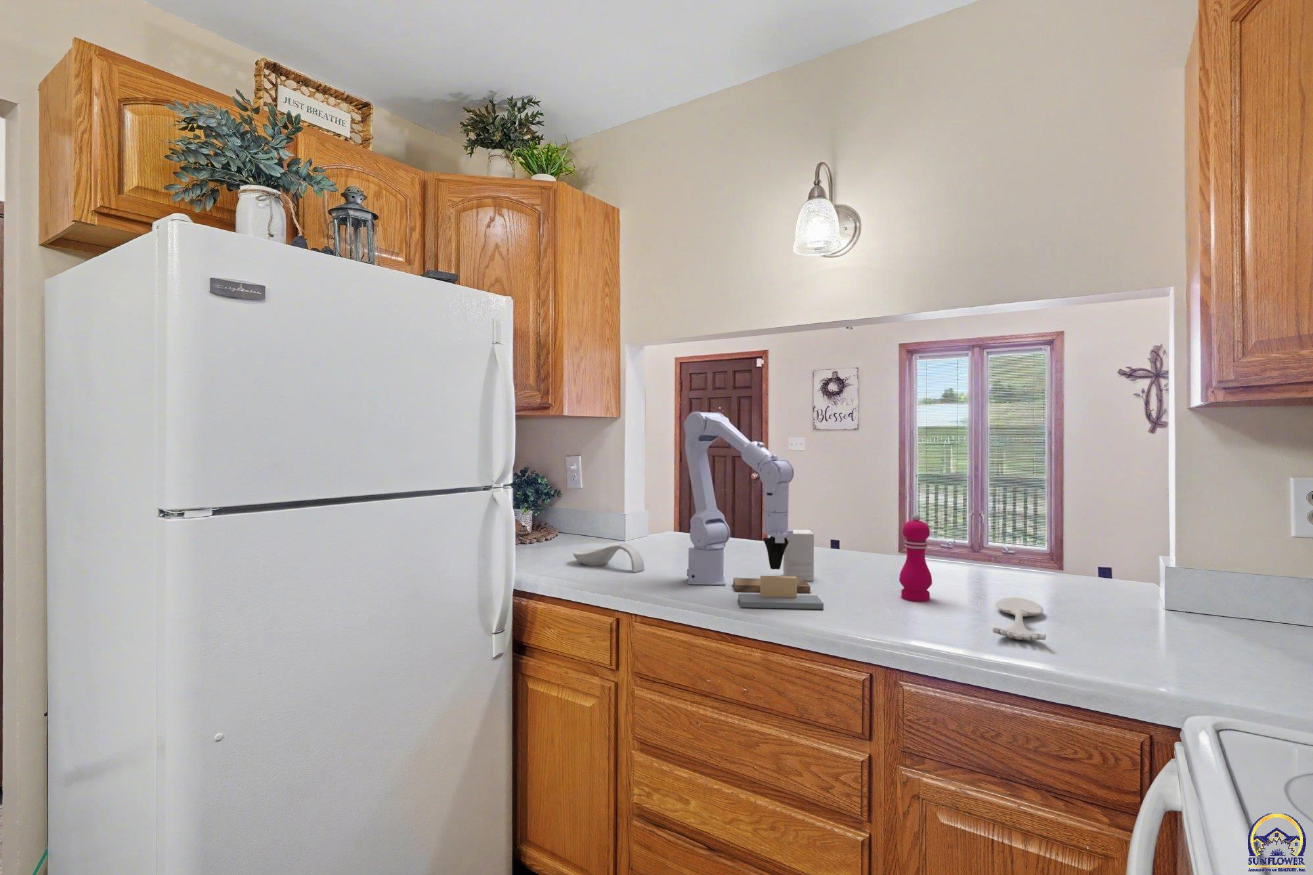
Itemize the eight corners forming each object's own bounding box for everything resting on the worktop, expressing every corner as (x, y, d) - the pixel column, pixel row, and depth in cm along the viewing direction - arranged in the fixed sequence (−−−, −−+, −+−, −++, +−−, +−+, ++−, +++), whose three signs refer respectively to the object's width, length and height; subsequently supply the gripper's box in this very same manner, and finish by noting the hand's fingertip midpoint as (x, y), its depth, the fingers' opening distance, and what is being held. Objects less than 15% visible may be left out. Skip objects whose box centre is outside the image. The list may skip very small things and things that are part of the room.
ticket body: (735, 591, 159) (735, 584, 159) (733, 584, 167) (733, 577, 167) (810, 593, 158) (810, 586, 158) (804, 585, 166) (804, 578, 166)
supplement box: (810, 575, 178) (810, 529, 178) (813, 581, 171) (814, 533, 171) (782, 574, 179) (783, 528, 179) (785, 580, 172) (785, 532, 172)
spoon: (990, 644, 121) (991, 626, 121) (996, 606, 149) (996, 591, 149) (1047, 653, 117) (1047, 633, 117) (1042, 611, 145) (1042, 596, 144)
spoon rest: (565, 564, 191) (565, 540, 191) (592, 559, 200) (593, 535, 200) (626, 576, 176) (626, 549, 176) (653, 569, 186) (653, 544, 186)
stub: (740, 607, 144) (741, 581, 144) (738, 599, 151) (738, 574, 151) (823, 608, 143) (823, 583, 143) (816, 600, 150) (817, 576, 150)
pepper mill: (897, 599, 153) (897, 514, 153) (901, 593, 159) (902, 511, 159) (930, 603, 149) (931, 516, 149) (933, 597, 156) (934, 513, 156)
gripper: (798, 515, 147) (797, 575, 147) (788, 508, 162) (787, 562, 162) (766, 514, 148) (765, 574, 148) (759, 507, 162) (758, 562, 162)
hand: (775, 568), depth 155 cm, fingers closed
